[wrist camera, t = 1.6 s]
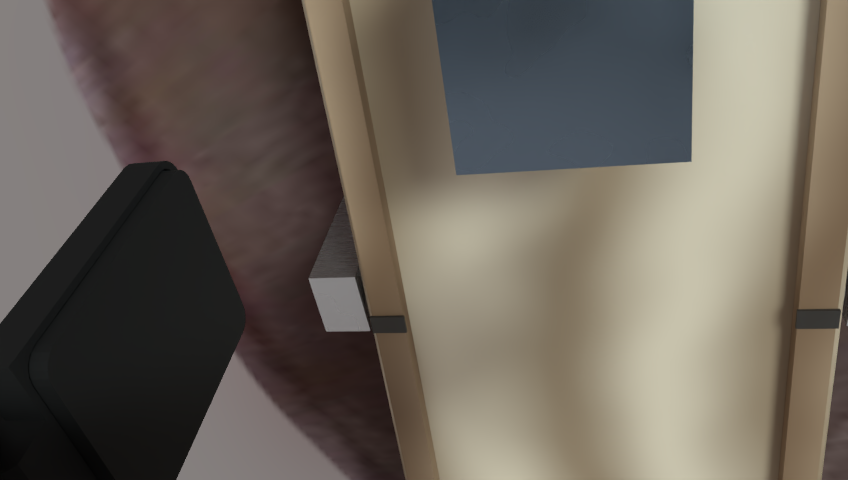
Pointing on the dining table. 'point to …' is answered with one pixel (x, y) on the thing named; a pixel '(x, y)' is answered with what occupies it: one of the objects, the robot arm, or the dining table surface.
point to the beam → (603, 261)
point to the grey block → (566, 82)
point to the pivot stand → (358, 280)
